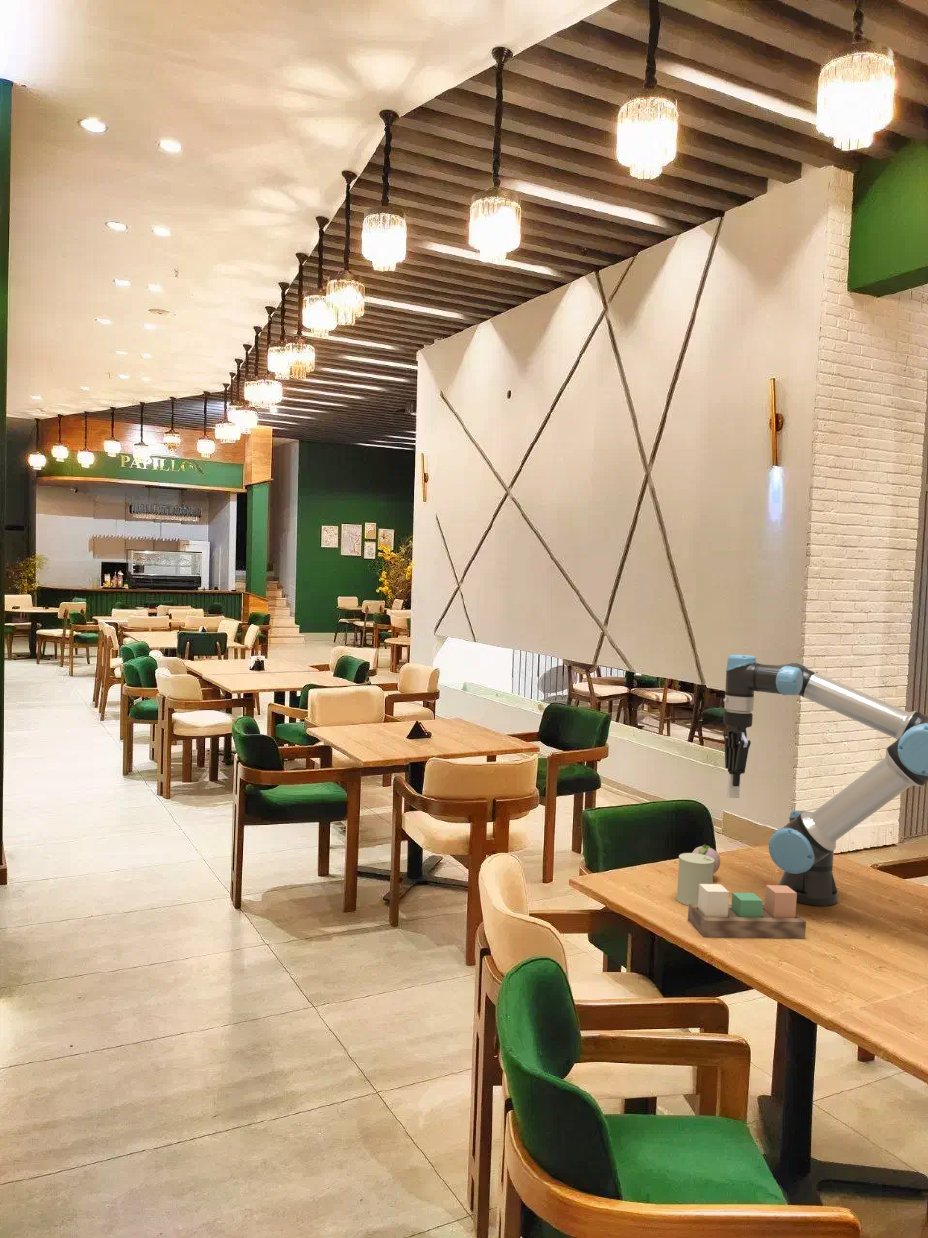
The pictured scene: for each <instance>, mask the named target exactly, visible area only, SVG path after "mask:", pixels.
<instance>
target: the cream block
mask: <svg viewBox="0 0 928 1238" xmlns="http://www.w3.org/2000/svg"><path fill="white" fill-rule="evenodd" d="M729 897H730V891H729V890H728V889H726V888H725V887H724V885H722V884H720V883H712V884H699V897H698V910H699V911H700V912H701V913H702V914H703V915H704V916H705V917H728V905H729V901H730V899H729Z"/></svg>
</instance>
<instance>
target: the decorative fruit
mask: <svg viewBox="0 0 928 1238" xmlns="http://www.w3.org/2000/svg"><path fill="white" fill-rule="evenodd" d="M691 853H697V854H703V855H707V856H709V857H711V858H713V859H714V869H713V875H714V874H716V872H717V871H718V870H719V869H720V867H721V858H720V857H721V856H720V855H719V854H718V852H717V850H715V849H714V848H712V847H711V846H710V845H707V844H706V843H704V844H703V845H701V846H698V847H695V848H694V850H693V851H692V852H691Z"/></svg>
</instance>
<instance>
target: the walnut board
mask: <svg viewBox="0 0 928 1238" xmlns="http://www.w3.org/2000/svg"><path fill="white" fill-rule="evenodd" d="M764 906H765V904H762V918H753V917H738V916H737V915H736V914H735V913H734V912H733V911H732V910H731V904H728V917H705V916H704V915H703V914H702V913H701V912H700V911H699V910H698V904H689V906H688V912H687V921H688V922H691V923H692V924H693V925H692V924H691V923H690V924H691V925H692V926H693V927H694V929H696V931H698V933H700V935H702V937H703V938H733V937H734V938H733V939H735V938H738V939H739V938H740V939H741V938H743V939H744V938H745V939H748V938H749V939H753V938H755V939H806V927H807V922H806V921H805V920H804V918H802V917H800V916H799V915H798V914H797V913H796V916H795V918H773V917H772V916H770V915H769V914H768V913H767V912H766V911H764Z"/></svg>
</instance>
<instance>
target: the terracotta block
mask: <svg viewBox="0 0 928 1238" xmlns="http://www.w3.org/2000/svg"><path fill="white" fill-rule="evenodd" d="M764 892H765V894H764V905H765V906H764V911H766V912H767V913H768V914H769V915H770V916H772V917H773V918H795V916H796V914H797V913H796V912H797V902H796V900H797V893H796V892H795V891H793V890H792V889H791V888H789V887H788V886H784V885H779V884H777V885H771V884H765V891H764Z"/></svg>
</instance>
